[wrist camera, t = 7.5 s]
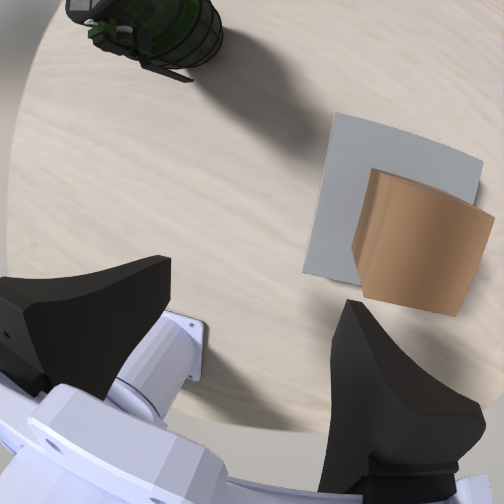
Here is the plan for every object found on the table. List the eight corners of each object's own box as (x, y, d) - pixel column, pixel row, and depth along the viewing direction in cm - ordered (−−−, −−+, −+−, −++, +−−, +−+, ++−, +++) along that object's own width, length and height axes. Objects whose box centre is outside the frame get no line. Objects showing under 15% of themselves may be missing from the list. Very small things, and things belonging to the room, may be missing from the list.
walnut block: (351, 247, 18) (364, 297, 12) (371, 167, 16) (399, 183, 10) (421, 265, 17) (455, 316, 11) (445, 191, 15) (494, 217, 9)
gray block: (304, 252, 22) (302, 272, 19) (332, 116, 18) (335, 112, 15) (424, 279, 21) (437, 301, 18) (460, 156, 17) (483, 161, 13)
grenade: (232, 4, 16) (152, -85, 5) (241, 80, 18) (150, 25, 7) (162, 23, 17) (50, -28, 6) (167, 95, 19) (40, 80, 8)
